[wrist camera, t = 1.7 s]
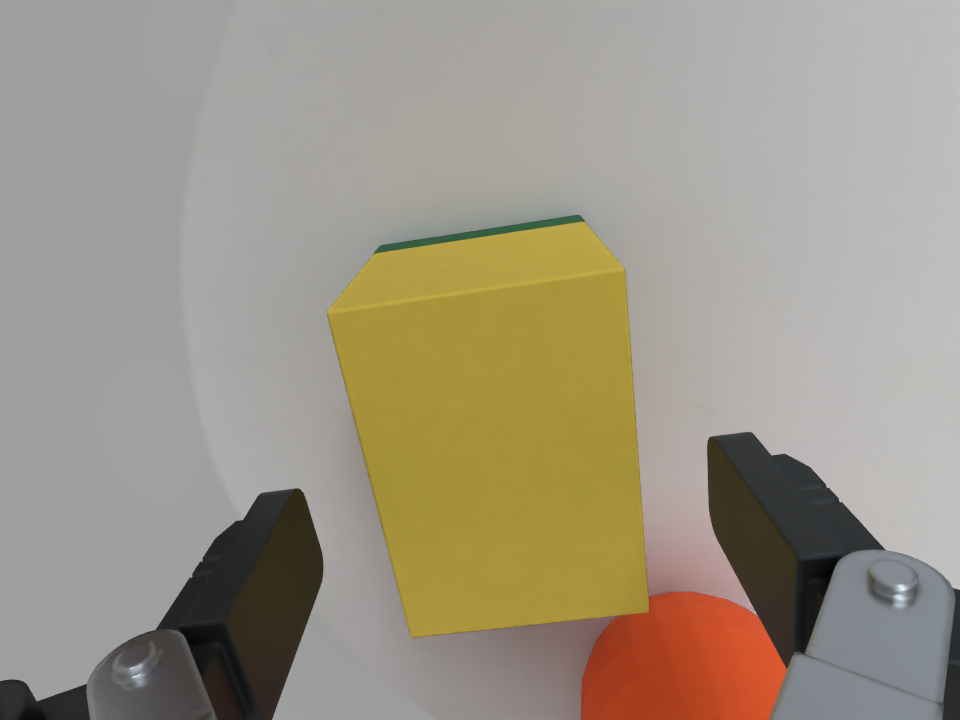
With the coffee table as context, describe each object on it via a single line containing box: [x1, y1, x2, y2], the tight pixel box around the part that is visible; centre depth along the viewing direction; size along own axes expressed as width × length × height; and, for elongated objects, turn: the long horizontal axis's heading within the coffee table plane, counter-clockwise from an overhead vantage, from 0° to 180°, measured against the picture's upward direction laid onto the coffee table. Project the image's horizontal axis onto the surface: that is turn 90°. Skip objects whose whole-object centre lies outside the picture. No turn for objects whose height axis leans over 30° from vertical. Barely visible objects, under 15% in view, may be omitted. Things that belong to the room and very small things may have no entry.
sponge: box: [327, 215, 649, 638], centre depth 15 cm, size 8×6×6 cm
